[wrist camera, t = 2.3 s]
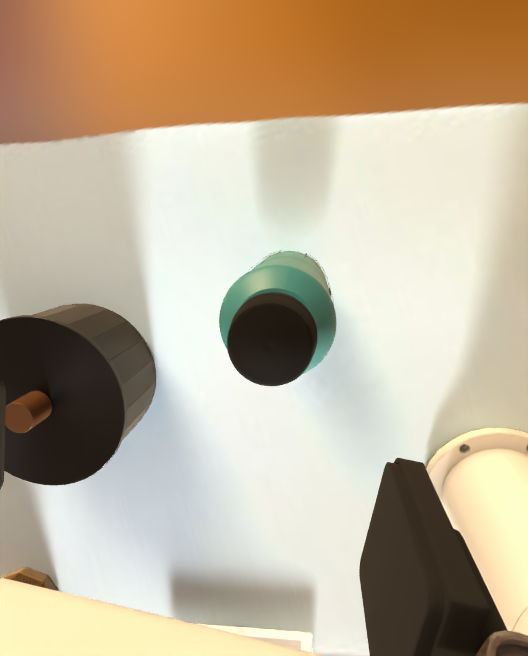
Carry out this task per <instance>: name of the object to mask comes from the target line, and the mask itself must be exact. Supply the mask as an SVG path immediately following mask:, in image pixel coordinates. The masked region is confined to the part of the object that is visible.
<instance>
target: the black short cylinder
mask: <svg viewBox="0 0 528 656" xmlns="http://www.w3.org/2000/svg"><path fill="white" fill-rule="evenodd" d="M34 315H35V316H42V317H48V318H52V319H55V320H59V321H61V322H63V323H66V324H68V325H70V326H72V327H74V328H76V329H77V330H79V331H81V332H82V333H84V334H85V335H86V336H88V337H89V338H90V339H91V340H92V341H94V342H95V343H96V344H97V345H98V346H99V347H100V348H101V349H102V351H103V352H104V353H105V354H106V355H107V357H108V358H109V359H110V361H111V362H112V364H113V365H114V367H115V369H116V371H117V373H118V375H119V377H120V380H121V382H122V385H123V388H124V392H125V397H126V403H127V423H126V428H125V433H124V436H123V439H124V438H125V437H126V436H127V435H128V433H129V432H130V431H131V430H132V429H133V428H134V427H135V426H136V425H137V424H138V422H139V421H140V420H141V419H142V417H143V416H144V414H145V413H146V411H147V410H148V408H149V406H150V404H151V402H152V399H153V396H154V392H155V387H156V371H155V365H154V360H153V358H152V355H151V352H150V350H149V348H148V346H147V344H146V342H145V340H144V339H143V337H142V336H141V335H140V333H139V332H138V331H137V330H136V329H135V328H134V327H133V326H132V325H131V324H130V323H129V322H128V321H127V320H125V319H124V318H123V317H121V316H120V315H118V314H116V313H114V312H113V311H111V310H108V309H106V308H103V307H100V306H96V305H90V304H72V305H63V306H60V307H57V308H53V309H50V310H47V311H44V312H41V313H37V314H34ZM123 439H122V440H123Z"/></svg>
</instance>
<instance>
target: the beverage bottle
mask: <svg viewBox="0 0 528 656" xmlns="http://www.w3.org/2000/svg"><path fill="white" fill-rule="evenodd" d="M273 253H275V252H273ZM310 256H311V255H310ZM265 258H266V257H265ZM315 261H317V260H313V259H312V258H310V257H309V256H307V253H306V255H305V254H303V253H299V252H295V251H284V252H278V253H277V252H276V254H273V255H271V256H270V255H269V257H268V258H267V259H265V260H264V261H263V262H261V263H260V264H259V265H258V264H257V266H256V267H255V268H254V269H253V270H252V271H250V272H248V273H246V274H245V275H243V276H242V277H240V278H239V279H238V280H237V281H236V282H235V283H234V284H233V285H232V286H231V288H230V289H229V291H228V292H227V294H226V296H225V298H224V300H223V303H222V306H221V310H220V317H219V324H220V332H221V336H222V339H223V342H224V344H225V346H226V348H227V350H228V354H229V357H230V359H231V361H232V364H233V365H234V367H235V368H236V369H237V371H238V372H239V373H240V374H241V375H242V376H244V377H245V378H246V379H248V380H250V381H251V382H254V383H256V384H259V385H264V386H279V385H283V384H287V383H289V382H291V381H293V380H295V379H297V378H298V377H299V376H300V375H302V374H304V373H306V372H307V371H309V370H311V369H312V368H314V367H315V366H316V365H317V364H318V363H319V362H321V361H322V359H323V358H324V357H325V356H326V354H327V353H328V351H329V349H330V347H331V345H332V343H333V340H334V337H335V332H336V314H335V309H334V305H333V302H334V300H333V302H332V300H331V297H330V295H331V291H330V288H328V285H327V282H326V279H325V276H324V275H325V274H324V273H325V272H324V273H323V271H322V270H321V267H319V265H318V264H317V263H316V262H315ZM258 263H259V262H258ZM251 268H252V267H251ZM323 270H324V269H323ZM327 279H328V278H327ZM328 284H329V283H328ZM329 286H330V285H329ZM332 299H333V298H332Z"/></svg>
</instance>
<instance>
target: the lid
mask: <svg viewBox="0 0 528 656" xmlns="http://www.w3.org/2000/svg"><path fill="white" fill-rule="evenodd" d="M0 380H1V383H3V384H4V385H5V387H6V412H5V456H4V471H6V472H8V473H9V474H11V475H13V476H15V477H18V478H20V479H22V480H25V481H29V482H32V483H37V484H42V485H66V484H71V483H75V482H78V481H81V480H84V479H86V478H88V477H90V476H92V475H94V474H95V473H96V472H98V471H99V470H100V469H102V468H103V467H104V466H105V465H106V464H107V463H108V462H109V461H110V460H111V458H112V457H113V456H114V454H115V453H116V451H117V450H118V448H119V446H120V444H121V442H122V439H123V436H124V433H125V428H126V423H127V403H126V397H125V392H124V388H123V385H122V382H121V380H120V377H119V375H118V373H117V371H116V369H115V367H114V365H113V364H112V362H111V361H110V359H109V358H108V357H107V355H106V354H105V353H104V352H103V351H102V349H101V348H100V347H99V346H98V345H97V344H96V343H95V342H94V341H92V340H91V339H90V338H89V337H88V336H86V335H85V334H84V333H82V332H81V331H79V330H77V329H76V328H74V327H72V326H70V325H68V324H66V323H63V322H61V321H59V320H55V319H52V318H48V317H42V316H35V315H23V316H16V317H11V318H7V319H4V320H0Z"/></svg>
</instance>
